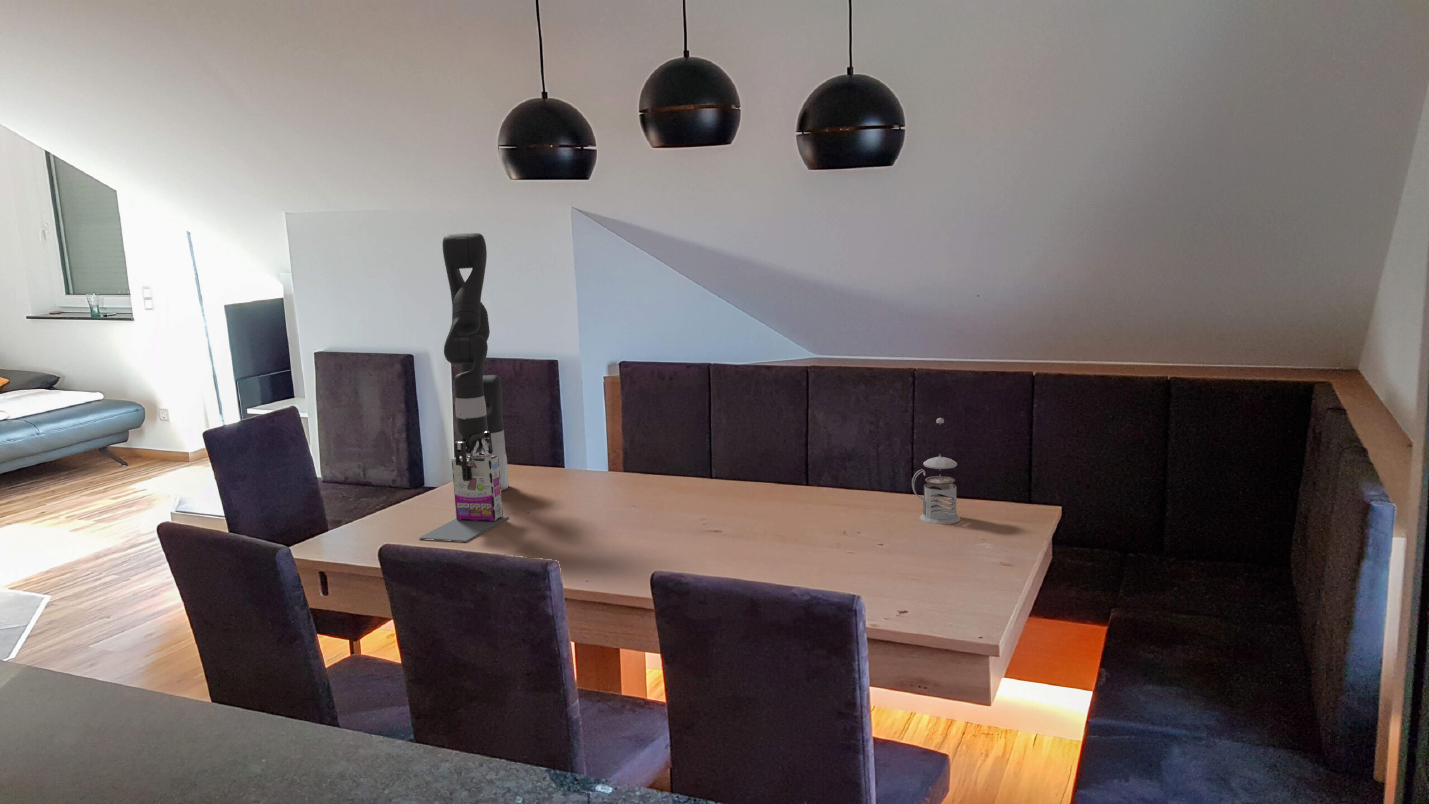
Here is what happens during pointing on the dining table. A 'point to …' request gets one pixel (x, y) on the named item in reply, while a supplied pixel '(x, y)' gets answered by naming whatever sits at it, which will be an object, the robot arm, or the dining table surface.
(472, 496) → the candy bar box
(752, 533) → the dining table surface
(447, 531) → the mat
